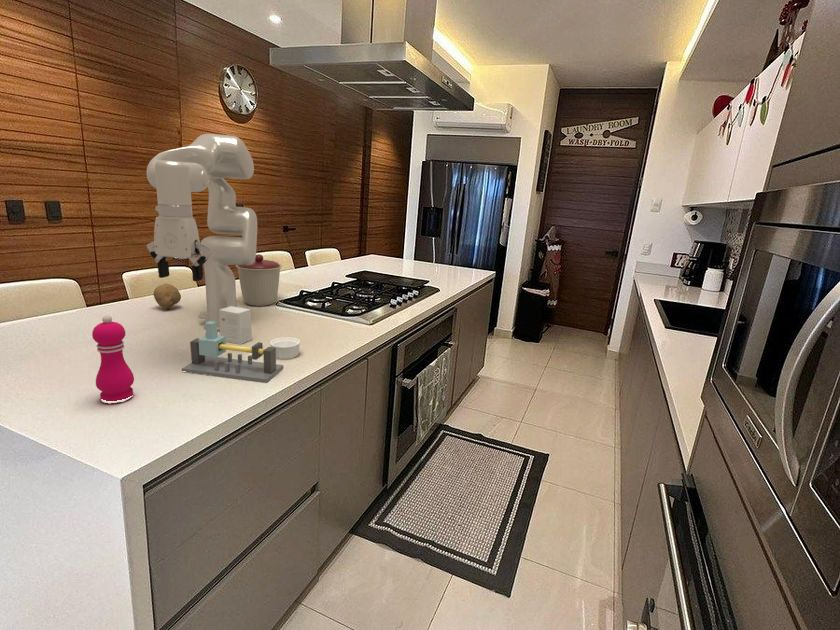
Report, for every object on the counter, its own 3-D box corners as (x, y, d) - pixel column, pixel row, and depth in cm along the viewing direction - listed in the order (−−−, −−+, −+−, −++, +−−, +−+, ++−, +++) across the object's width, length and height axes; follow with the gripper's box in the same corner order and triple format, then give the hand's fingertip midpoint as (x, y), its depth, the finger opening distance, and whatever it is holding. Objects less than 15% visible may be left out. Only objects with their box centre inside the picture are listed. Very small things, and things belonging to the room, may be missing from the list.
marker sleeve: (199, 354, 118) (197, 323, 115) (209, 349, 122) (207, 319, 120) (216, 356, 117) (214, 325, 115) (225, 351, 121) (224, 321, 119)
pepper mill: (110, 390, 104) (99, 310, 99) (142, 391, 105) (133, 311, 99) (90, 405, 97) (78, 319, 92) (125, 406, 98) (114, 321, 92)
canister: (274, 310, 178) (273, 259, 173) (230, 307, 178) (227, 255, 173) (287, 299, 196) (287, 253, 190) (247, 296, 196) (245, 250, 190)
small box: (252, 339, 144) (251, 309, 141) (240, 344, 139) (239, 313, 136) (232, 335, 146) (231, 305, 143) (220, 340, 141) (218, 309, 138)
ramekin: (283, 362, 128) (283, 349, 126) (263, 355, 132) (263, 341, 131) (306, 354, 135) (306, 341, 134) (286, 347, 139) (286, 335, 138)
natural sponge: (175, 304, 176) (173, 280, 173) (186, 309, 171) (184, 284, 169) (151, 308, 169) (148, 283, 166) (162, 313, 164) (159, 287, 161)
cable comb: (181, 371, 117) (179, 342, 114) (204, 358, 126) (202, 331, 124) (266, 382, 114) (265, 353, 112) (283, 368, 123) (282, 340, 121)
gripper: (133, 210, 108) (140, 278, 112) (198, 215, 106) (202, 284, 111) (154, 209, 115) (160, 273, 120) (216, 214, 113) (219, 279, 118)
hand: (181, 278), depth 115 cm, fingers open, 9 cm apart
